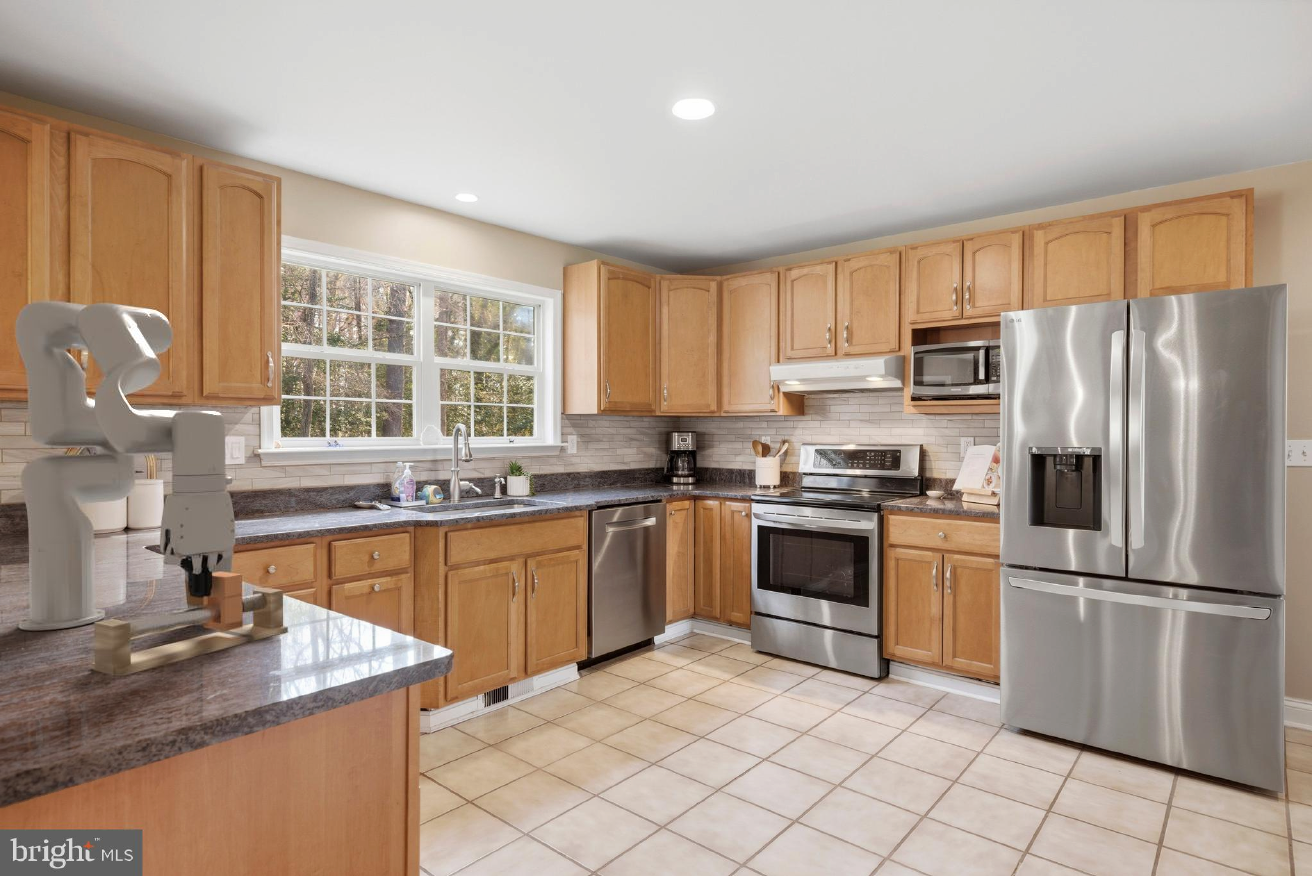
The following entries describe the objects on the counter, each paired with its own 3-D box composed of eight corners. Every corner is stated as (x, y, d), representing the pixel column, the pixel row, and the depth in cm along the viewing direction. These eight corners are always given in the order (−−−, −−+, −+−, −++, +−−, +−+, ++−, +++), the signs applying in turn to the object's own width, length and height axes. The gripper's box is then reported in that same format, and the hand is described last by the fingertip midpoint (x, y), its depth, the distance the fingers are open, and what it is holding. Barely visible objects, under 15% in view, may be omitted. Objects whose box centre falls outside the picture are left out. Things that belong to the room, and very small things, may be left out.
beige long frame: (118, 676, 107) (117, 627, 107) (89, 668, 110) (89, 621, 110) (288, 631, 131) (288, 591, 131) (260, 625, 135) (260, 586, 135)
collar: (225, 631, 122) (224, 577, 122) (203, 627, 125) (203, 574, 125) (242, 627, 124) (242, 574, 124) (221, 623, 127) (220, 571, 127)
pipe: (118, 646, 109) (118, 624, 109) (106, 643, 110) (106, 622, 110) (273, 609, 131) (273, 591, 131) (262, 607, 133) (262, 590, 133)
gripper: (230, 482, 129) (231, 585, 130) (137, 487, 116) (138, 603, 116) (256, 483, 126) (257, 589, 126) (164, 489, 113) (165, 608, 113)
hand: (200, 595), depth 121 cm, fingers closed
